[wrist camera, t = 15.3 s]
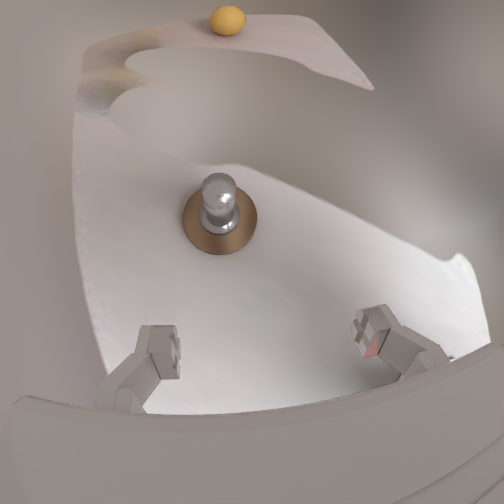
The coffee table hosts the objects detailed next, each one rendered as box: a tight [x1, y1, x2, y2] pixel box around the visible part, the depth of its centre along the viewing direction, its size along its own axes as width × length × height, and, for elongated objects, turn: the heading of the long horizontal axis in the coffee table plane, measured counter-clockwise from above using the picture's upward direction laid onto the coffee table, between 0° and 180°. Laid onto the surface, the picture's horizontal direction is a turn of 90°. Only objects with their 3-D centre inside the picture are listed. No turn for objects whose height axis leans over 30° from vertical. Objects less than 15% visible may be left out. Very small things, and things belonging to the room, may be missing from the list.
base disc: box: [183, 187, 257, 255], centre depth 45 cm, size 12×12×2 cm
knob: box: [200, 173, 240, 235], centre depth 40 cm, size 6×6×10 cm
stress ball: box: [210, 5, 246, 36], centre depth 56 cm, size 10×10×10 cm
